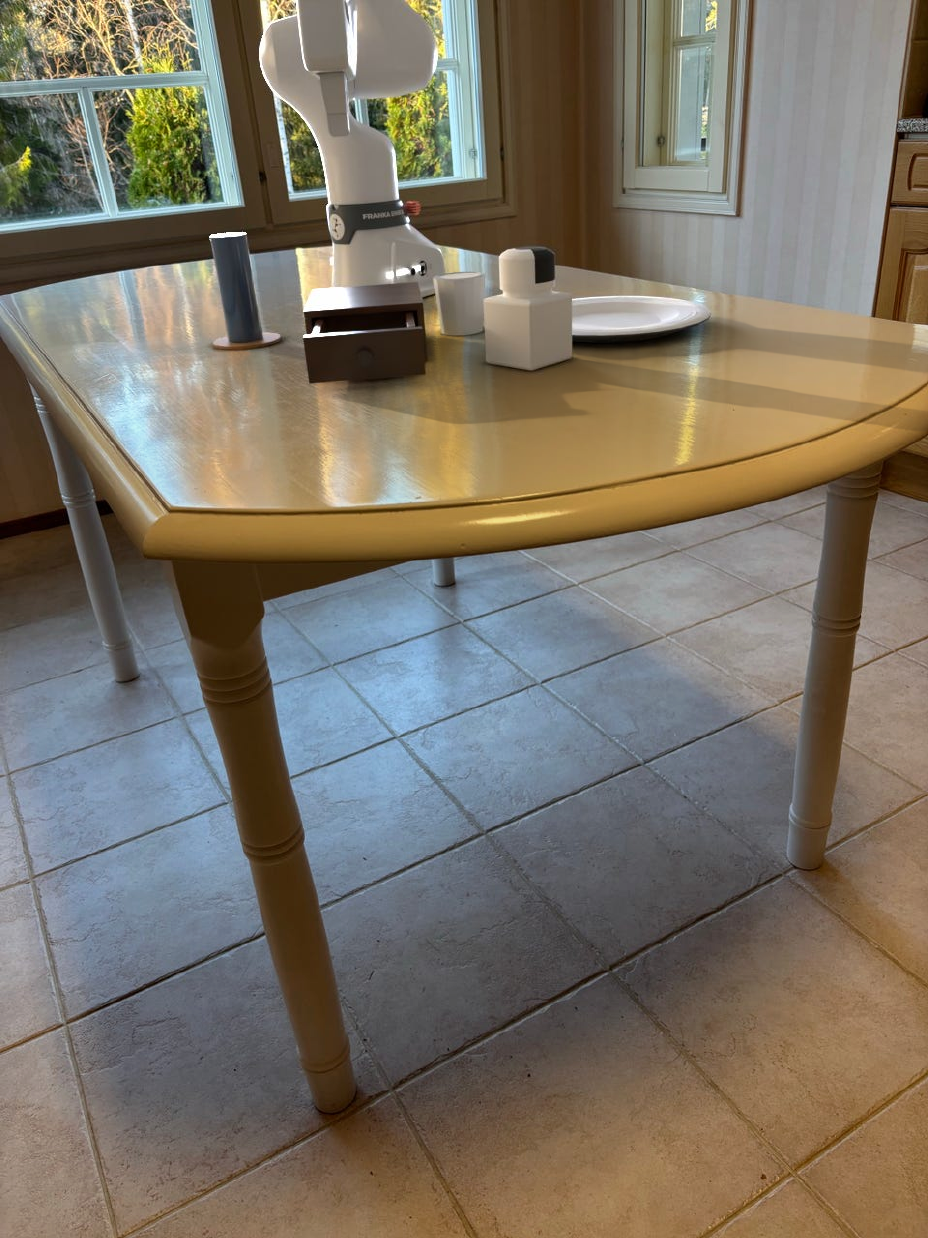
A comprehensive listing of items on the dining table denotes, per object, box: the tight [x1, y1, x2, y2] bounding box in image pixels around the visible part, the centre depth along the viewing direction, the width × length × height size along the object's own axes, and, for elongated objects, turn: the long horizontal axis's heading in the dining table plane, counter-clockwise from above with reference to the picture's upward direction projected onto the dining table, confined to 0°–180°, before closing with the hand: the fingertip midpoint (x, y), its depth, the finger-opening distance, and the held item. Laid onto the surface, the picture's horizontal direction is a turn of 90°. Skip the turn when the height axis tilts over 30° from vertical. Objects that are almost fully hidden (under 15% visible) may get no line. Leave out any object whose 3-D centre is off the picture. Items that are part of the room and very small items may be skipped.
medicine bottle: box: [483, 246, 573, 372], centre depth 99 cm, size 7×7×12 cm
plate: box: [572, 295, 712, 344], centre depth 115 cm, size 25×25×2 cm
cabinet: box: [302, 282, 428, 362], centre depth 110 cm, size 16×14×7 cm
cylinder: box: [209, 232, 263, 343], centre depth 117 cm, size 5×5×13 cm
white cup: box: [433, 271, 486, 336], centre depth 117 cm, size 7×7×7 cm
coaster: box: [212, 331, 282, 351], centre depth 120 cm, size 9×9×1 cm
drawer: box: [302, 311, 427, 384], centre depth 100 cm, size 16×12×5 cm
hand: (339, 136), depth 81 cm, fingers closed
